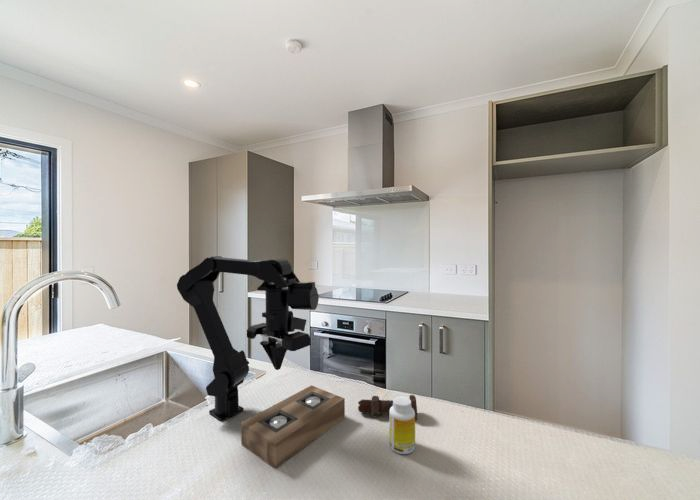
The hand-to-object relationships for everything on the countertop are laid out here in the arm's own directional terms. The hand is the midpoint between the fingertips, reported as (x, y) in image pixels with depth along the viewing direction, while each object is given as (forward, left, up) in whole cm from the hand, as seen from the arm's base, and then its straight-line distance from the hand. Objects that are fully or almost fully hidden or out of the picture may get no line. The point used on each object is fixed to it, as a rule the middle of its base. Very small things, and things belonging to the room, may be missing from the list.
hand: (277, 369), depth 75 cm
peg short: (+7, +5, -13) cm, 16 cm away
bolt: (+21, +19, -13) cm, 31 cm away
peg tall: (+7, -6, -13) cm, 16 cm away
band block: (+7, 0, -13) cm, 15 cm away
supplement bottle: (+30, +10, -13) cm, 34 cm away
